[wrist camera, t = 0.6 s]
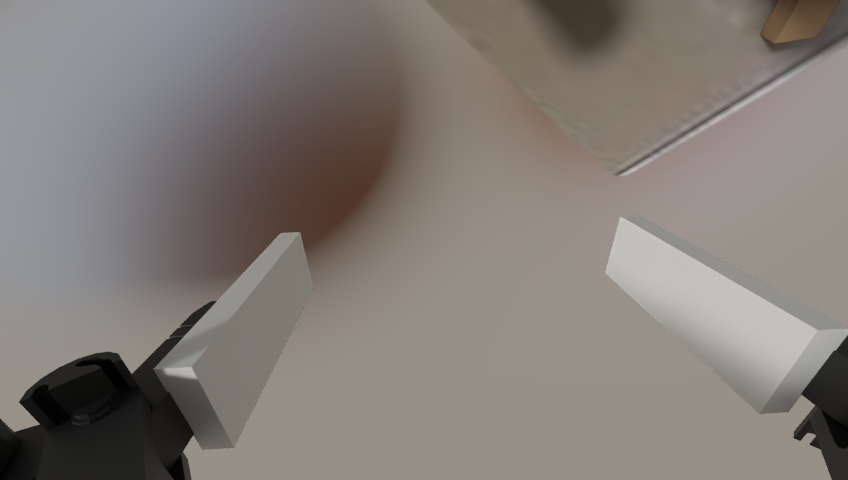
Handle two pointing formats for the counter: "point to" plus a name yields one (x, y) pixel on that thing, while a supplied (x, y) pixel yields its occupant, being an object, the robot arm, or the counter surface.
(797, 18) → the brown wooden l-shaped bar
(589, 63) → the counter surface
